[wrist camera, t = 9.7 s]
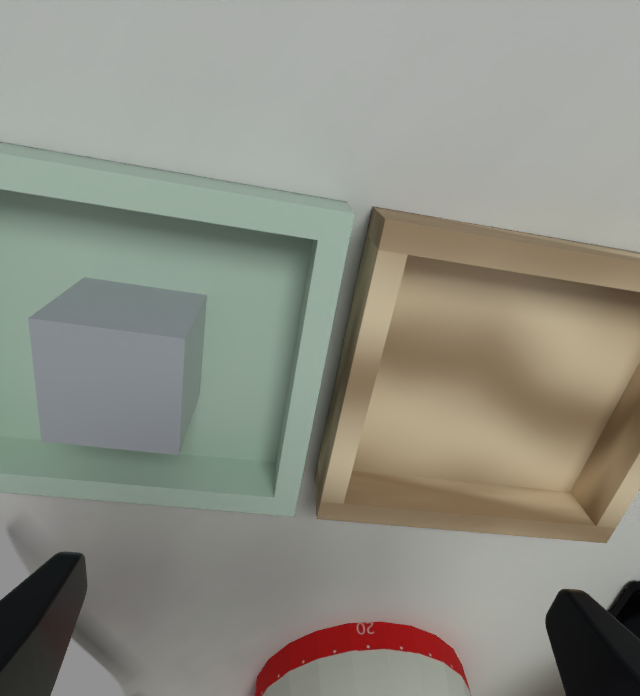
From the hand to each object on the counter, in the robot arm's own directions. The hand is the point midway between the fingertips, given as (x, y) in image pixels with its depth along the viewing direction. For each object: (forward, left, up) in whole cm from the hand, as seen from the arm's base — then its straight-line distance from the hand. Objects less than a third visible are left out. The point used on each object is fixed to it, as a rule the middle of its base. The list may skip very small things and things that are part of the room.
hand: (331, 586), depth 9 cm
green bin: (-1, +7, -11) cm, 13 cm away
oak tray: (-1, -8, -11) cm, 14 cm away
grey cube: (-1, +6, -11) cm, 13 cm away
